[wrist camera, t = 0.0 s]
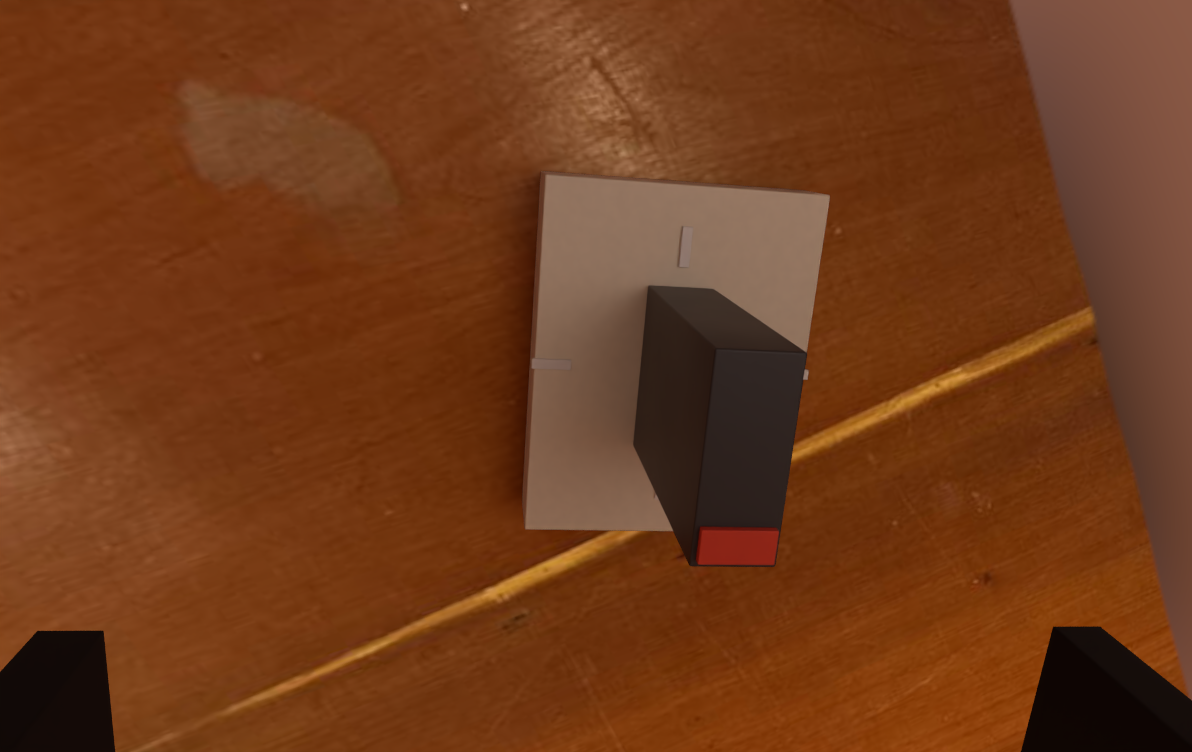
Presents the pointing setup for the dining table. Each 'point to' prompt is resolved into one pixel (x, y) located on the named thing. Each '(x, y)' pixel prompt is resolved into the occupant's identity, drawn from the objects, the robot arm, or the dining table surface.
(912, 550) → the dining table surface
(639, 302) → the panel
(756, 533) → the dark grey rectangular block
